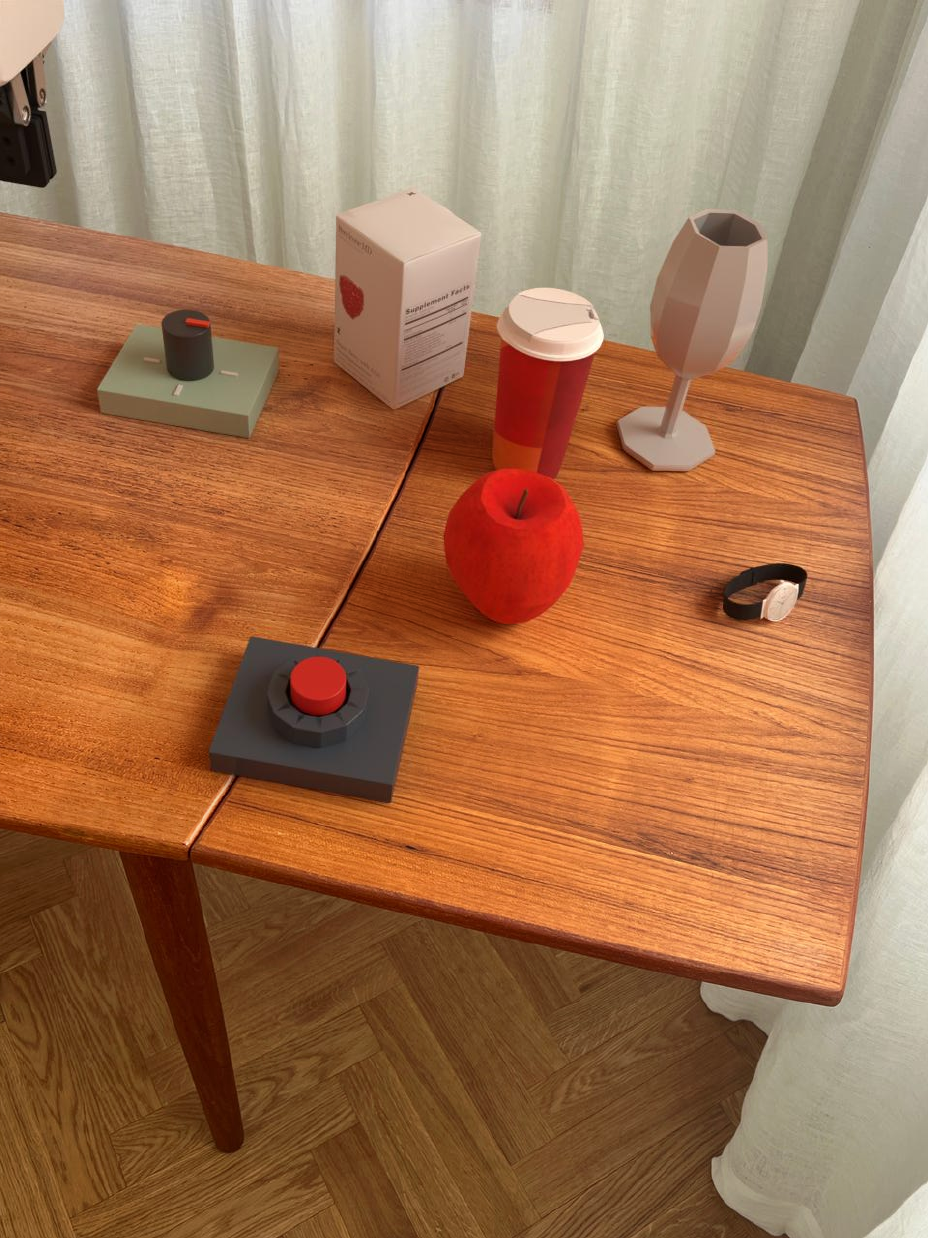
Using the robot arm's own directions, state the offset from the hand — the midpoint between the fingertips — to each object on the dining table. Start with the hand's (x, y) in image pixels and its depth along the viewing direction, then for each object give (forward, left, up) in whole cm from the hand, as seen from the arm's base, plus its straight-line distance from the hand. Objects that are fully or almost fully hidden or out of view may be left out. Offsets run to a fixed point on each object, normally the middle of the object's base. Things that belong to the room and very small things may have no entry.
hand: (26, 177), depth 67 cm
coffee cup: (+33, +14, -27) cm, 45 cm away
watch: (+53, +2, -27) cm, 60 cm away
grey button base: (+22, -17, -27) cm, 39 cm away
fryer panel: (+3, +16, -27) cm, 32 cm away
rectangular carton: (+20, +24, -27) cm, 41 cm away
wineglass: (+45, +20, -27) cm, 56 cm away
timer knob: (+3, +16, -25) cm, 29 cm away
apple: (+33, -3, -27) cm, 43 cm away
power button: (+22, -17, -23) cm, 36 cm away
